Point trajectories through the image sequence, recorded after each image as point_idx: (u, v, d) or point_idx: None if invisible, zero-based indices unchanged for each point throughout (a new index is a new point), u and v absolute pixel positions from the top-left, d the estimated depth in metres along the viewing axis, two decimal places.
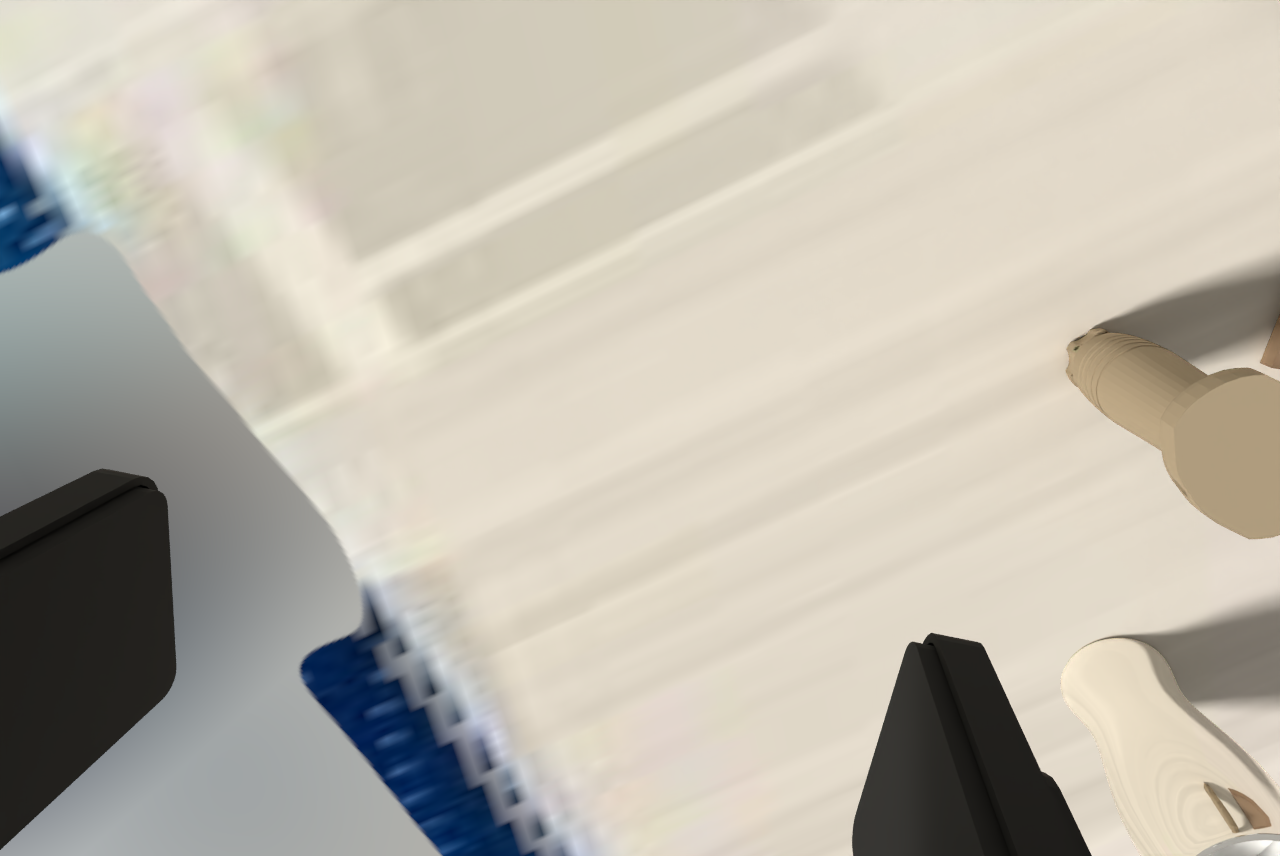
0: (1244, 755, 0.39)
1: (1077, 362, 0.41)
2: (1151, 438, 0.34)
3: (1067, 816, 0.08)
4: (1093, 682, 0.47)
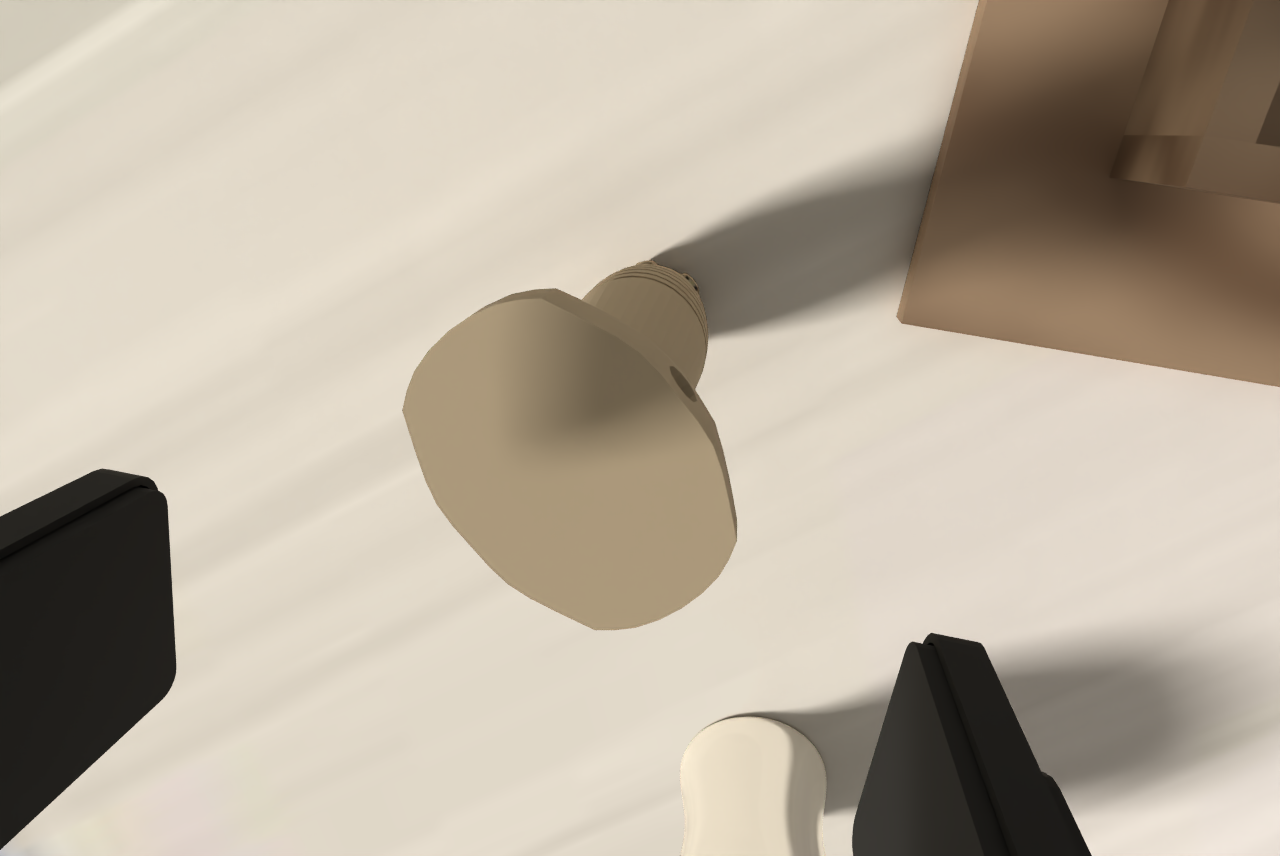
0: None
1: None
2: None
3: (1067, 816, 0.08)
4: (696, 784, 0.32)
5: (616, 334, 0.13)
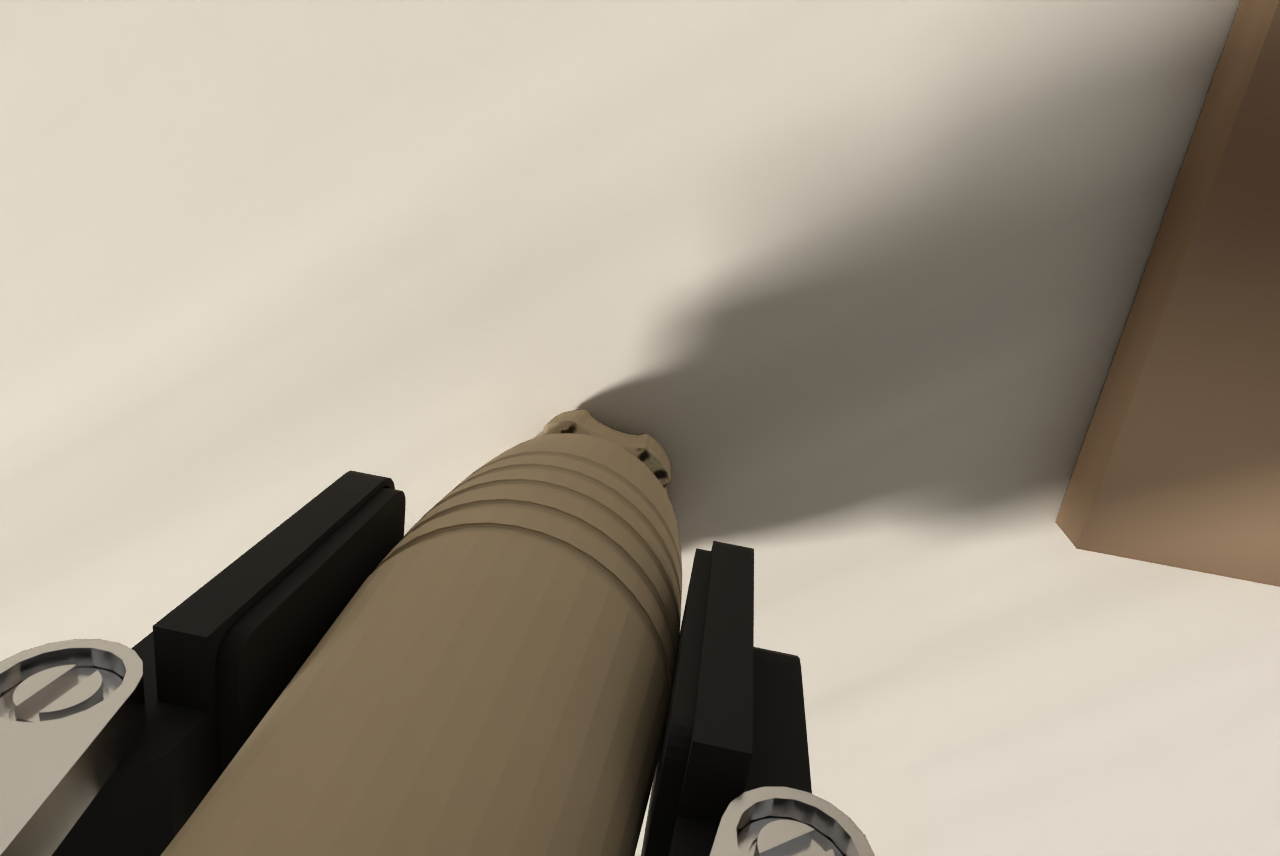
0: None
1: None
2: None
3: (800, 686, 0.09)
4: None
5: None
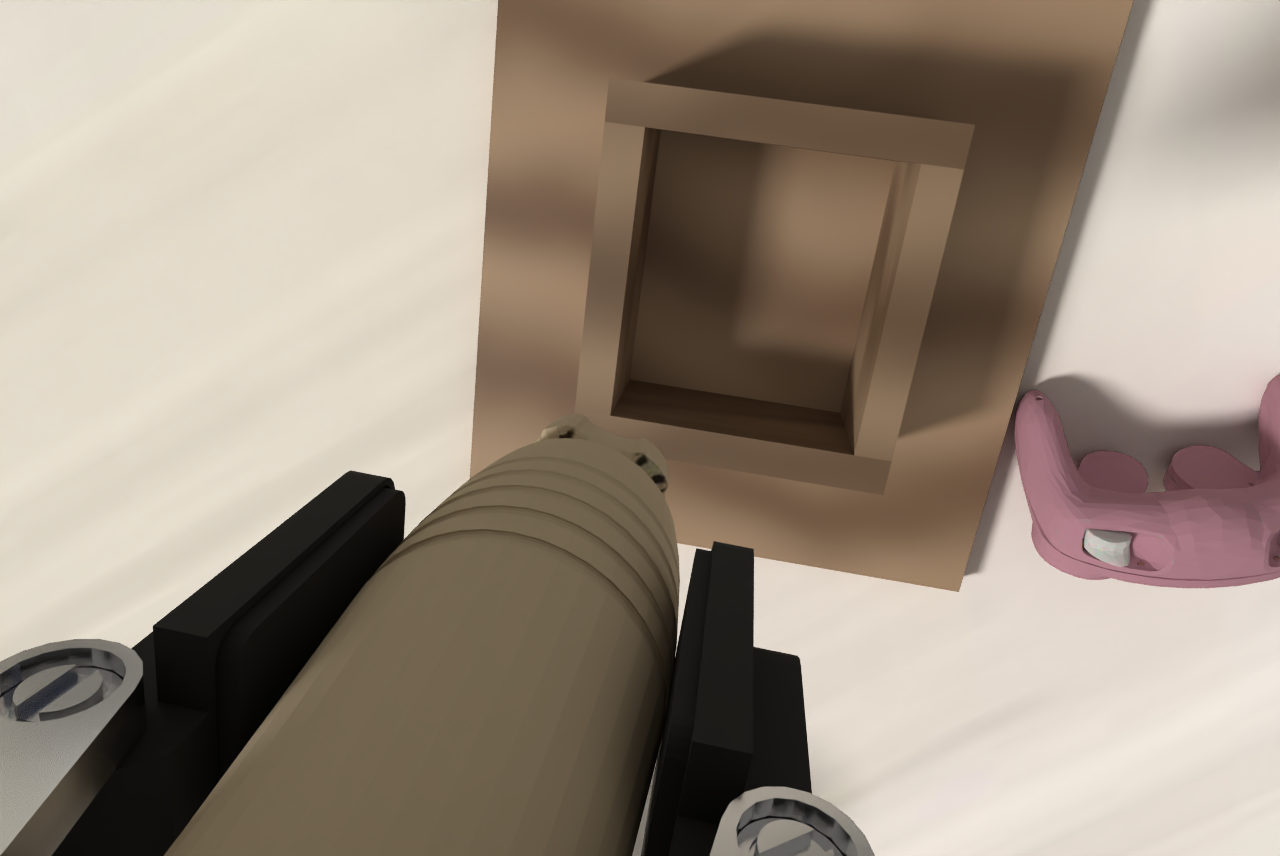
0: None
1: None
2: None
3: (801, 686, 0.09)
4: None
5: None
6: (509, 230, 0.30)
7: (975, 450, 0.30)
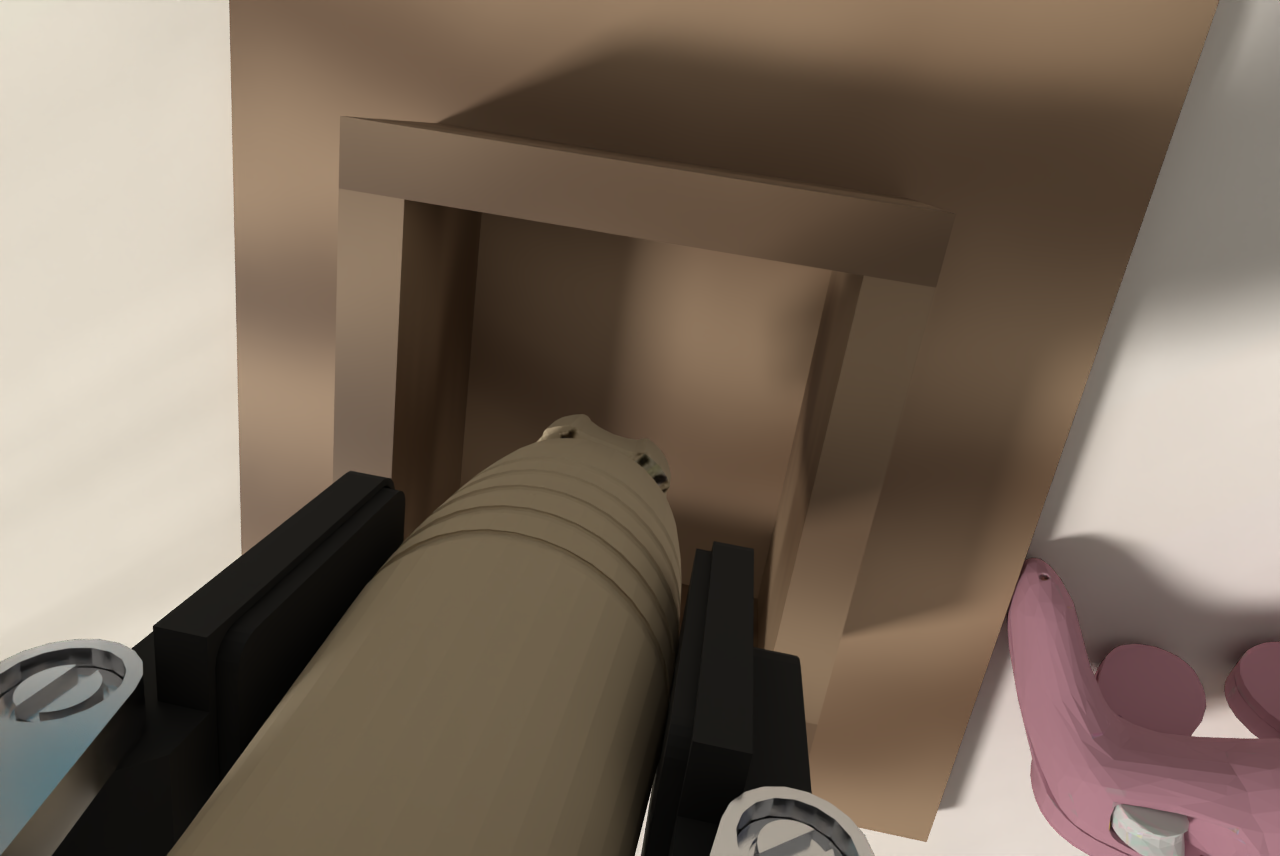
0: None
1: None
2: None
3: (801, 686, 0.09)
4: None
5: None
6: (271, 325, 0.20)
7: (953, 659, 0.21)
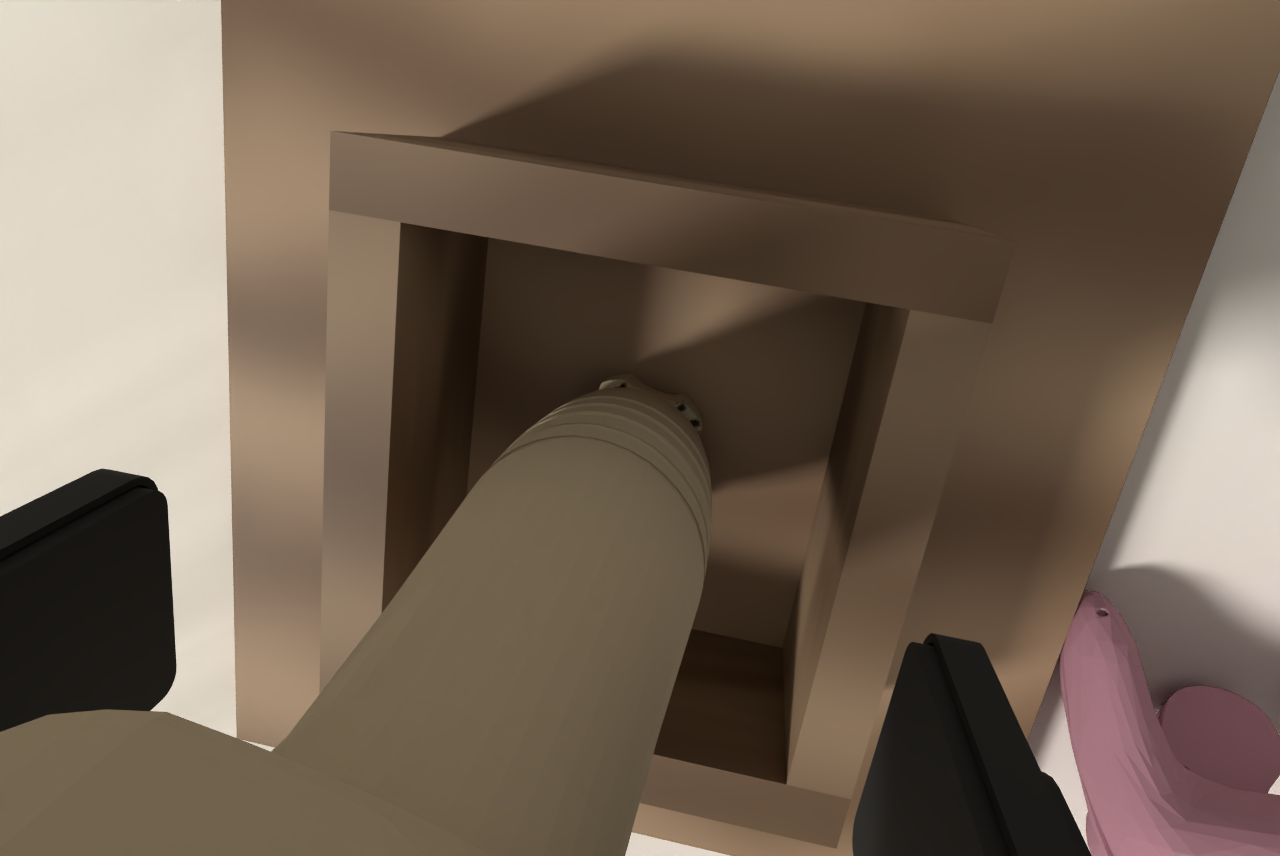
0: None
1: None
2: None
3: (1067, 818, 0.08)
4: None
5: None
6: (265, 351, 0.19)
7: None
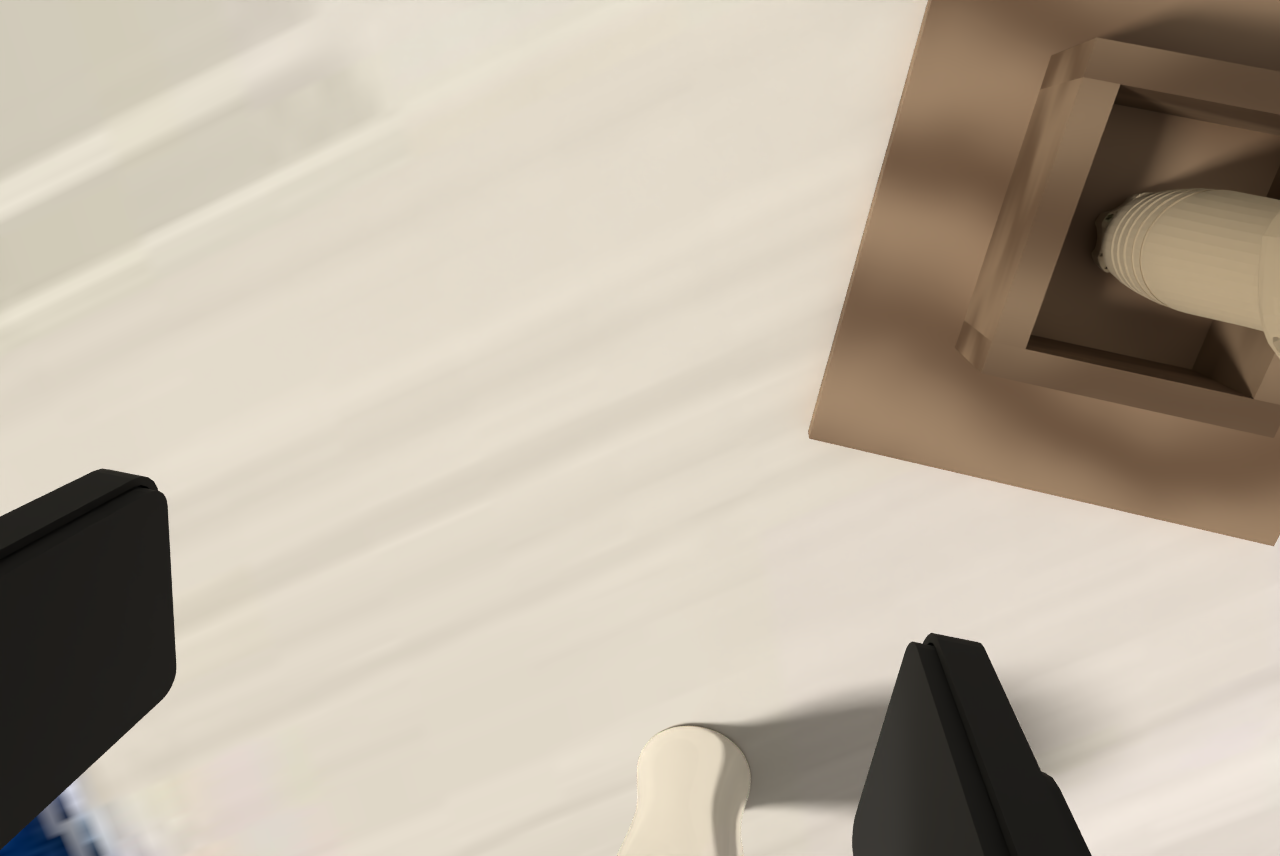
0: None
1: (1111, 230, 0.30)
2: (1228, 299, 0.23)
3: (1067, 816, 0.08)
4: (647, 775, 0.41)
5: None
6: (905, 179, 0.33)
7: None
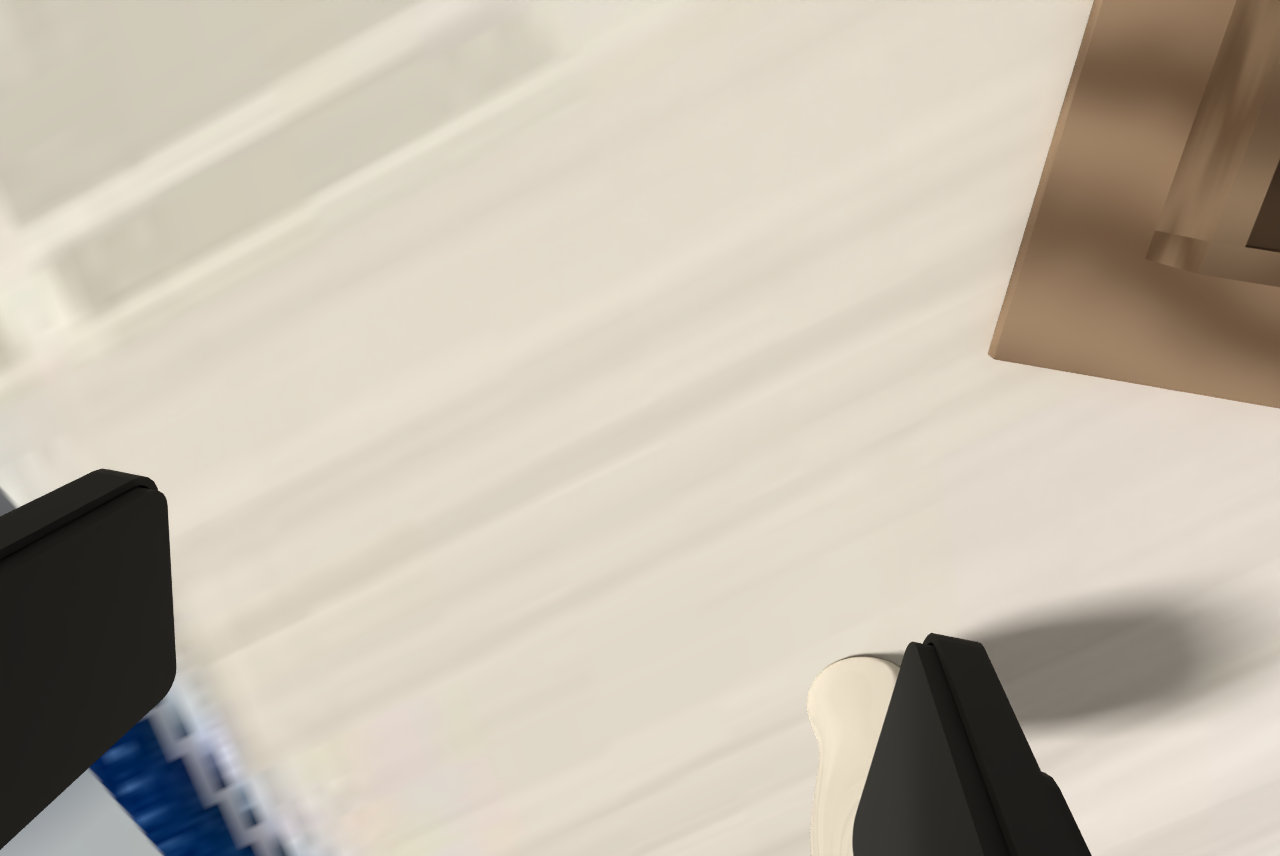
0: None
1: None
2: None
3: (1067, 818, 0.08)
4: (826, 705, 0.42)
5: None
6: (1099, 91, 0.33)
7: None
